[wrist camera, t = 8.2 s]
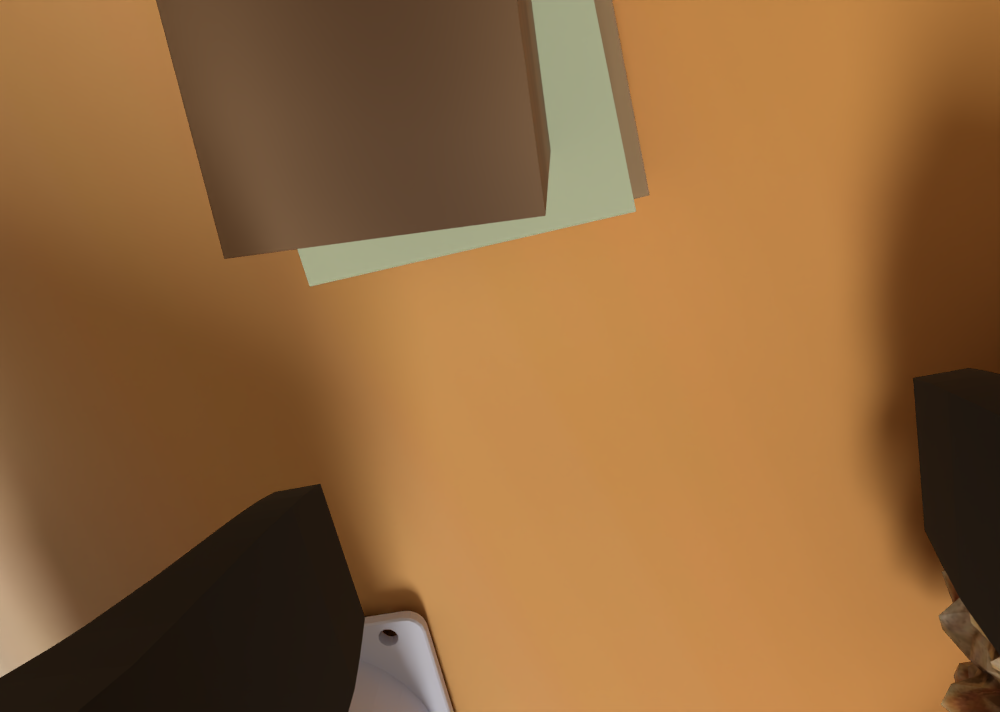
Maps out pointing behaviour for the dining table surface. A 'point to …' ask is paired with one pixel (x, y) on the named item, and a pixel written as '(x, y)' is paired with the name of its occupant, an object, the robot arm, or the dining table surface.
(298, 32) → the walnut block
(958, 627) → the pine cone
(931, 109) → the dining table surface
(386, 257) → the slab top
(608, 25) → the slab bottom
